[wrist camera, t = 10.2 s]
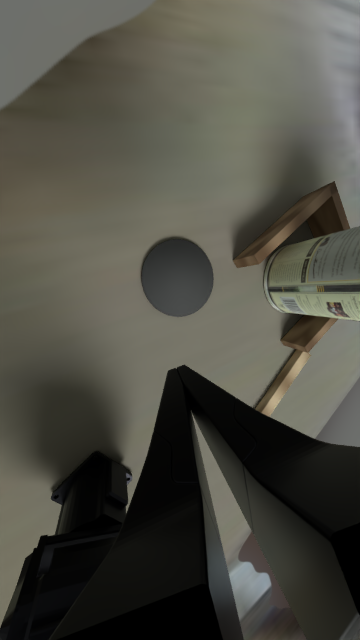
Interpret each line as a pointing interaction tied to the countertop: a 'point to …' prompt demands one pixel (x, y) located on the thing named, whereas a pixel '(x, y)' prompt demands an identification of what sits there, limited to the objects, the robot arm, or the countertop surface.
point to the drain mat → (177, 277)
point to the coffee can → (317, 276)
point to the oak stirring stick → (282, 382)
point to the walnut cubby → (323, 220)
